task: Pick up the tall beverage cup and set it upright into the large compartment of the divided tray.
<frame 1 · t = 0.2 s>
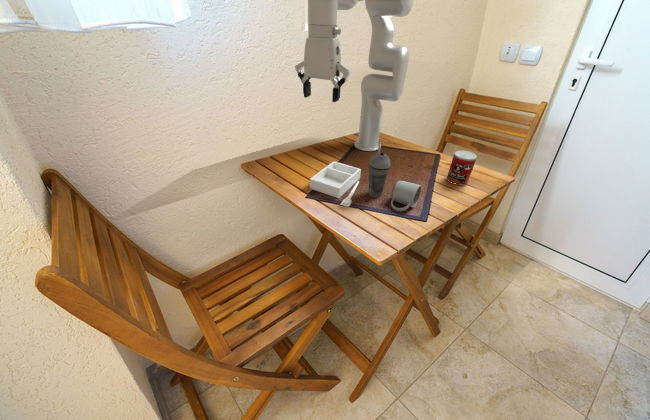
hand: (321, 98, 86), 31 cm above the table, tool pointing down, fingers open, 9 cm apart
ceramic mug: (403, 204, 97), on the table
divided tray: (335, 183, 107), on the table
canned food: (456, 181, 111), on the table
beverage cup: (375, 194, 102), on the table
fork: (351, 195, 102), on the table
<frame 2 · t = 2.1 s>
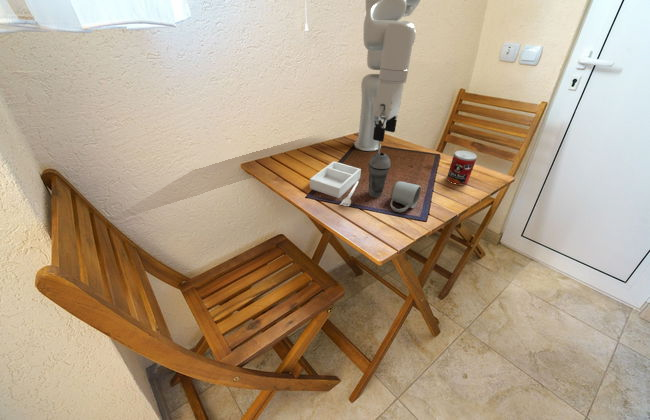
hand: (384, 135, 88), 22 cm above the table, tool pointing down, fingers open, 9 cm apart
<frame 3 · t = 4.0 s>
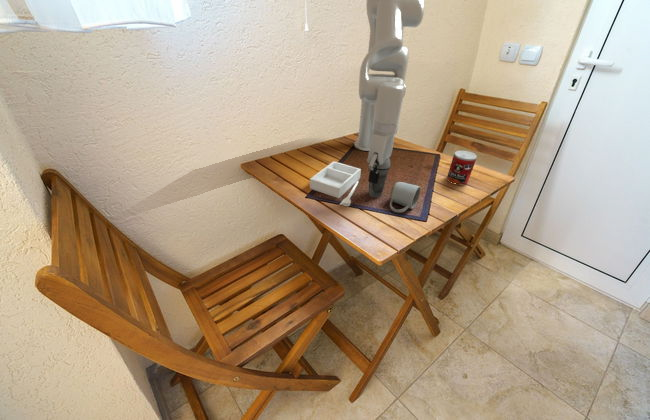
hand: (377, 177, 98), 7 cm above the table, tool pointing down, fingers closed on beverage cup, 7 cm apart
beverage cup: (375, 194, 102), on the table, touching gripper
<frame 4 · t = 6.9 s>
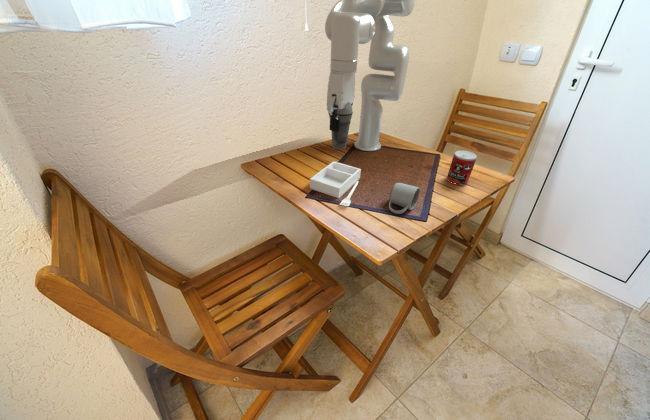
hand: (340, 126, 92), 23 cm above the table, tool pointing down, fingers closed on beverage cup, 7 cm apart
beverage cup: (339, 147, 96), point 16 cm above the table, touching gripper
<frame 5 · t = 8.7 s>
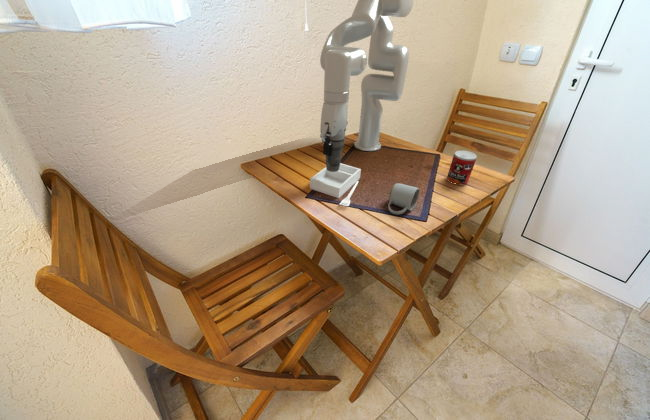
hand: (333, 150, 97), 14 cm above the table, tool pointing down, fingers closed on beverage cup, 7 cm apart
beverage cup: (332, 169, 101), point 7 cm above the table, touching gripper
when the fingers open (9 cm above the table, at t = 10.2 s): beverage cup drops 1 cm, resting on divided tray.
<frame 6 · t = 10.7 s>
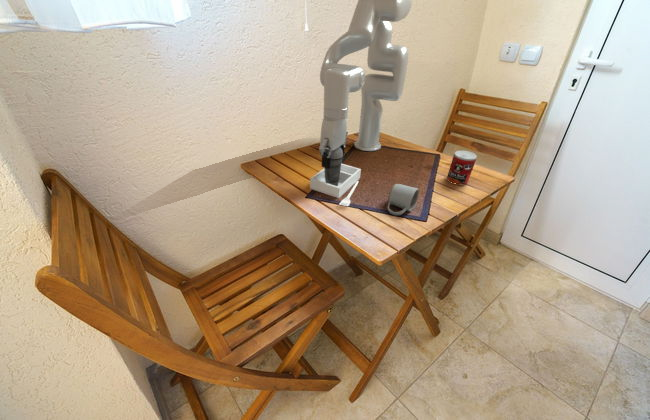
hand: (333, 162, 99), 10 cm above the table, tool pointing down, fingers open, 9 cm apart
beverage cup: (332, 184, 105), point 1 cm above the table, touching divided tray
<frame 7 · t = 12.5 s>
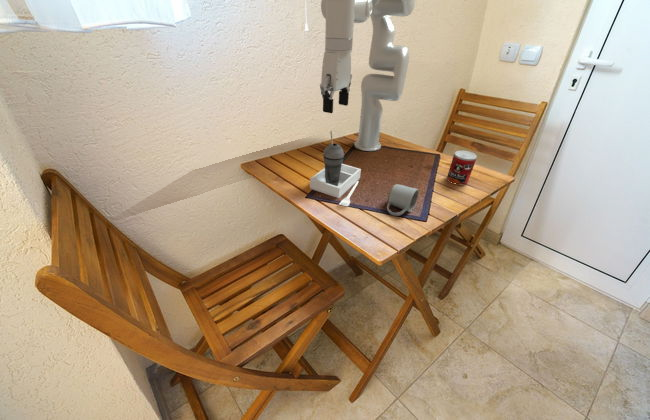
hand: (335, 108, 89), 28 cm above the table, tool pointing down, fingers open, 9 cm apart
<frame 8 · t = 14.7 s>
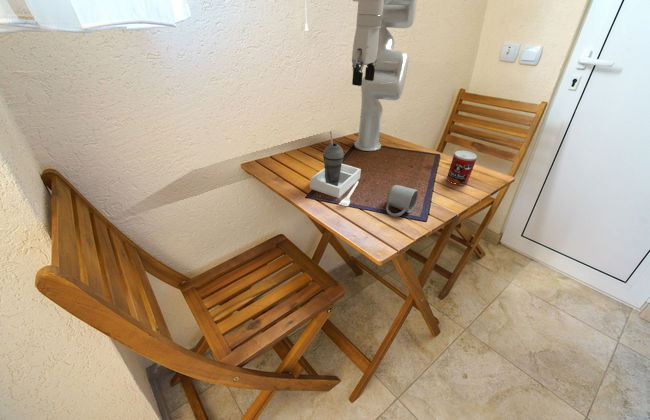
hand: (363, 82, 96), 33 cm above the table, tool pointing down, fingers open, 9 cm apart
at the end: beverage cup 0.0 cm from the target spot on the divided tray, point 0.6 cm above the divided tray's base; beverage cup tilted 0°; the gripper is holding nothing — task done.
